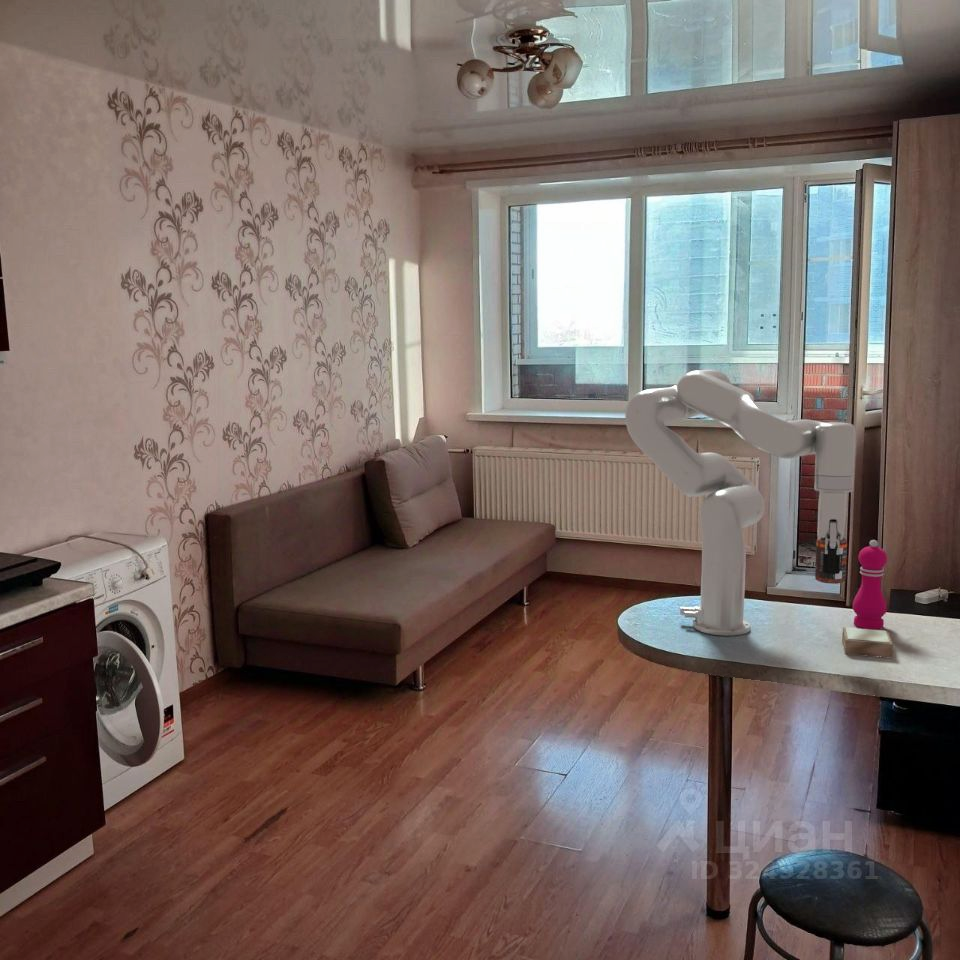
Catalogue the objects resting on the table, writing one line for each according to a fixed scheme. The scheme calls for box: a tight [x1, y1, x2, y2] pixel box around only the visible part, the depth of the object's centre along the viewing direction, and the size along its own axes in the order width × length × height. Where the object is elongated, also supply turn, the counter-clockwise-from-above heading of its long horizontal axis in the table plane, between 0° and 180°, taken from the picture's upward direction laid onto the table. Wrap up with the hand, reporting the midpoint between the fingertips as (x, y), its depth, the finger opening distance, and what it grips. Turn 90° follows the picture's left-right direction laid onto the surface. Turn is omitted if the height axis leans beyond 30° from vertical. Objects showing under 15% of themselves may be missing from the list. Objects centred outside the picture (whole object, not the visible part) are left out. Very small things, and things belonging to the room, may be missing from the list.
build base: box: [841, 627, 894, 658], centre depth 203 cm, size 9×9×3 cm
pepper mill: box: [852, 539, 888, 630], centre depth 218 cm, size 7×7×20 cm
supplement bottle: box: [814, 526, 848, 585], centre depth 199 cm, size 6×6×11 cm
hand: (830, 568), depth 199 cm, fingers closed on supplement bottle, 6 cm apart
